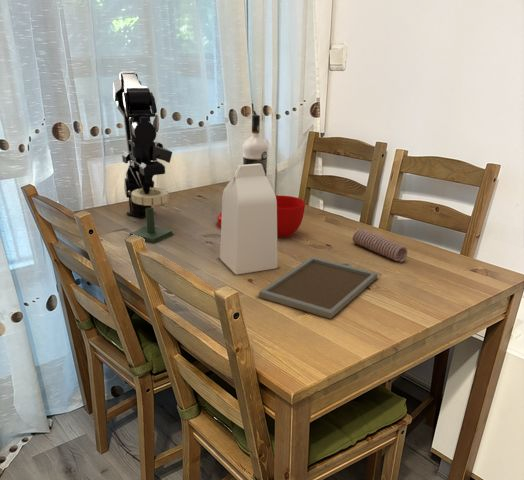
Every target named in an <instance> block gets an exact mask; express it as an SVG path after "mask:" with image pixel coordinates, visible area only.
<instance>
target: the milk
mask: <svg viewBox="0 0 524 480" xmlns="http://www.w3.org/2000/svg"><path fill="white" fill-rule="evenodd" d="M276 196H277V195H276V193H275V192H274V190H273V187H272V185H271V184H270V181H269V179H268V177H267V175H266V176H265V172H264V169H263V166H262V164H247V165H243V164H238V165H237V168H236V170H235V172H234V174H233V177H232V178H231V179H230V180H229V182H228V183H227V185H226V186H225V187H224V188H223V191H222V199H221V213H222V219H221V228H220V246H219V247H220V248H219V260H220V261H221V262H222V263H224V264H225V265H226V267H228V268H229V269H230V271H232V272H233V273H234V275H244V274H249V273H255V272H260V271H268V270H275V269H278V267H279V266H278V263H279V262H278V237H277V200H276Z"/></svg>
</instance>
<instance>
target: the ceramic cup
mask: <svg viewBox="0 0 524 480" xmlns="http://www.w3.org/2000/svg"><path fill="white" fill-rule="evenodd" d="M275 196H276V200H277V238H289V237H292V236H293V235H294V234H295V233H296V232H297V231H298V230H299V228H300V226H301V224H302V222H303V219H304V215H305V209H306V202H305V200H304V199H301V198H299V197H295V196H291V195H290V196H289V195H275Z"/></svg>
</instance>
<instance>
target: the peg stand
mask: <svg viewBox="0 0 524 480" xmlns="http://www.w3.org/2000/svg"><path fill="white" fill-rule="evenodd" d="M145 213H146V216H145V224H146V226H143V227H141V228H138V229H136V230H133V231H131V232H129V236H130V235H133V234H135V235H138V236H141V237H143V238H144V239H145V241H144V242H148V243H151V244H156V243H157V242H160V241H162V240H164V239H166V238H168V237H170V236H172V235H173V230H171V229H167V228H164V227H161V226H156V223H155V210H154V207H151V208H146V209H145Z"/></svg>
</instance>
